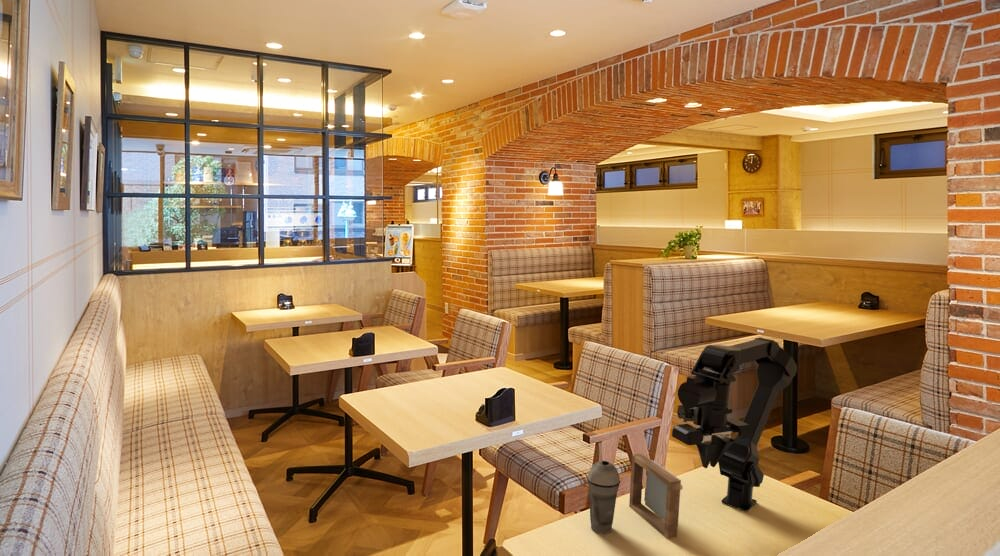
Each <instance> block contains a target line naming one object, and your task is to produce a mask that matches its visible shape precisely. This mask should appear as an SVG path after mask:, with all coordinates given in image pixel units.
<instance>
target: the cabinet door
mask: <svg viewBox="0 0 1000 556" xmlns="http://www.w3.org/2000/svg"><path fill="white" fill-rule="evenodd" d="M650 460H651V461H653V462H654V463H655V464H657V465H658V466H660V467H661V468H663V469H664V470H666V471H667V472H668V473H670V474H671V475H673V476H674V477H676V478H677V479H679V480H680V491H682V490H683V484H682V479H680V478H678V477H677V476H676V475H674V474H673V473H671V472H670V471H669V470H667V469H666V468H664V467H663V466H661V465H660V464H659V463H658V462H656V461H654V460H653V459H650ZM645 476H646V479H645V481H646V482H645V488H644V506H645V507H646V508H648V509H649V510H650V511H651V512H652V511H653V512H652V513H654V514H655V515H656V516H657V517H659V518H660V519H661V520H662V521H663V522H665V511H666V495H667V485H666V484H665V483H663V482H662V481H661V480H659V479H658V478H656V477H655V476H654V475H652V474H651V473H650V472H648V471H647V470H645ZM680 497H681V494H680V495H679V503H681V502H680V501H681V498H680ZM679 513H680V509H679V510H678V519H679V516H680V514H679ZM677 528H679V525H678V526H677Z"/></svg>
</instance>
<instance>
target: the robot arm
mask: <svg viewBox="0 0 1000 556" xmlns="http://www.w3.org/2000/svg"><path fill="white" fill-rule="evenodd" d="M750 362H754V363H755V364H756V366H757V367H756V371H755V372H756V378H757V381H758V382H757V383H758V384H757V387H756V389H755V391H754V394H753V396H752V399H751V400H750V404H749V406H748V408H747V411H746V413H745V415H744V418H743V420H739V419H737V418H728V414H732V413H733V408H731V407H729V403H730V393H731V385H732V384H731V383H734V382H736V381H737V378H736V377H735V376H734V374H735V373H737V372H738V371H740V369H741V366H742V365H745V364H748V363H750ZM797 372H798V365H797V363H796V362H795V360H794V358H793V357H792V355H791V354H790V353H788V352H787V351H786V350H784V349H783V348H782V347H781V346H780V344H779V343H778V342H777V341H775V340H774V339H769V338H766V337H765V338H764V337H756V338H754V339H752V340H749V341H745V342H741V343H738V344H732V345H718V344H708V345H706V346H705V347H704V348H703V350H702V351H701V353H700V355H699V357H698V359H697V361H696V362H695V364H694V366H693V368H692V370H691V372H690V374H691V375H687V376H686V381H685V382H682V383H681V384H680V385H679V388H678V389H677V397H678V401H679V402H680V404H679V405H677V412H676V413H677V418H678V419H679V420H681V419H682V420H683V423H682V424H675V425H674V426H673V427H672V432H671V437H673V438H674V439H676V440H678V441H679V442H681V443H683V444H685V445H687V446H696V448H697V450H698V454H699V457H700V461H701V465H702V467H703V468H704V469H707V468H708V467H709V465H710V466H711V467H712V468H715V467H716V466H717V464H718V468H719V473H720V474H719V475H720V476H724V477H726V478H728V480H727V491H726V495H725V496H724V497H723V498H722V499H721V503H722V504H724V505H727V506H730V507H733V508H736V509H738V510H742V511H744V512H749V511H750V510H751V509H752V508H753V507H754V506H755V505H756V504H757V500H756V499H754V498H753V491H754V487H755V488H760V487H761V484H763V482H764V481H763V480H764V478H765V477H764V476H765V474H764V473H763V471H762V470H761V469H760V467H759V466H758V465H759V462H760V455H759V450H758V444H759V442H760V439H761V436H762V434H763V432H764V429H765V427H766V424H767V423H768V419H769V417H770V415H771V412H772V409H773V407H774V405H775V402H776V399H777V397H778V394H779V392H781V391H783V390H784V389H786V388H787V387H789V386H790V384H791V382H792V380H793V378H794V377H795V376H796V374H797ZM687 422H693V423H692V424H693V425H695V426H693V425H691V424H689V423H687ZM696 426H699V427H696ZM733 433H737V435H736V436H735V437H733V438H732V435H731V434H733Z"/></svg>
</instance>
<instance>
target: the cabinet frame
mask: <svg viewBox="0 0 1000 556" xmlns="http://www.w3.org/2000/svg"><path fill="white" fill-rule="evenodd" d="M651 460H652V459H650V458H648V457H647V456H645V455H644V454H642V453H636V454H632V455H631V466H630V467H631V468H630V483H629V484H630V487H629V503H628V507H629V508H630V509H632V510H633V511H634V512H635V513H636V514H637V515H639V516H640V517H641V518H642V520H645V521H646V523H648V524H649V525H651V527H652V528H654V529H655V530H656V531H657V532H658V533H660V534H661V536H662V537H664V538H666V539H667V540H669V539H674V538H677V536H678V527H679V518H678V510H679V511H680V502H679V495H680V496H681V490H680V480H681V479H680V478H679V479H680V480H679V479H677V478H678V477H677V476H676V477H677V478H676V477H674V476H675V475H674V474H673V475H674V476H673V475H671V474H672V473H671V472H670V473H671V474H670V473H668V472H669V471H668V470H667V469H666V470H667V471H668V472H667V471H666V470H664V469H665V468H664V467H663V468H664V469H663V468H661V467H662V466H661V465H660V466H661V467H660V466H658V465H659V464H658V463H657V464H658V465H657V464H655V463H654V462H655V461H654V460H653V461H654V462H653V461H651ZM644 470H645V471H646V470H647V471H648V472H650V473H651V474H652V475H654V476H655V477H656V478H658V479H659V480H661V481H662V482H663V483H665V484H666V485H667V495H666V511H665V521H664V520H663V519H662V518H661V517H659V516H658V515H657V514H656V513H655V512H652V510H651V509H650V508H649V507H647V506H646V505H645V504H643V503H642V497H643V496H642V492H643V480H644V478H643V476H644ZM677 526H678V527H677Z"/></svg>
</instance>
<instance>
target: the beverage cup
mask: <svg viewBox="0 0 1000 556" xmlns="http://www.w3.org/2000/svg"><path fill="white" fill-rule="evenodd" d="M598 450H599V451H598V452H599V453H598V454H599V461H596V462H595V463H594V464H592V465H591V466H590V468H589V470H588V474H587V476H586V480H587V485H588V486H587V487H588V494H589V495H588V496H589V516H590V518H589V520H590V529H591V530H592V531H593V532H594V533H596V534H598V535H599V534H600V535H607V534H610V533H611V532H612V529H613V527H612V526H613V522H614V518H615V517H614V516H615V510H616V509H615V508H616V502H617V497H618V496H617V495H618V491H619V488H620V483H621V479H620V474H619V471H618V469H617V467H616V465H614V464H613V463H612V462H610V461H608V460H603V451H602V442H601V441H600V442H598Z"/></svg>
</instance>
